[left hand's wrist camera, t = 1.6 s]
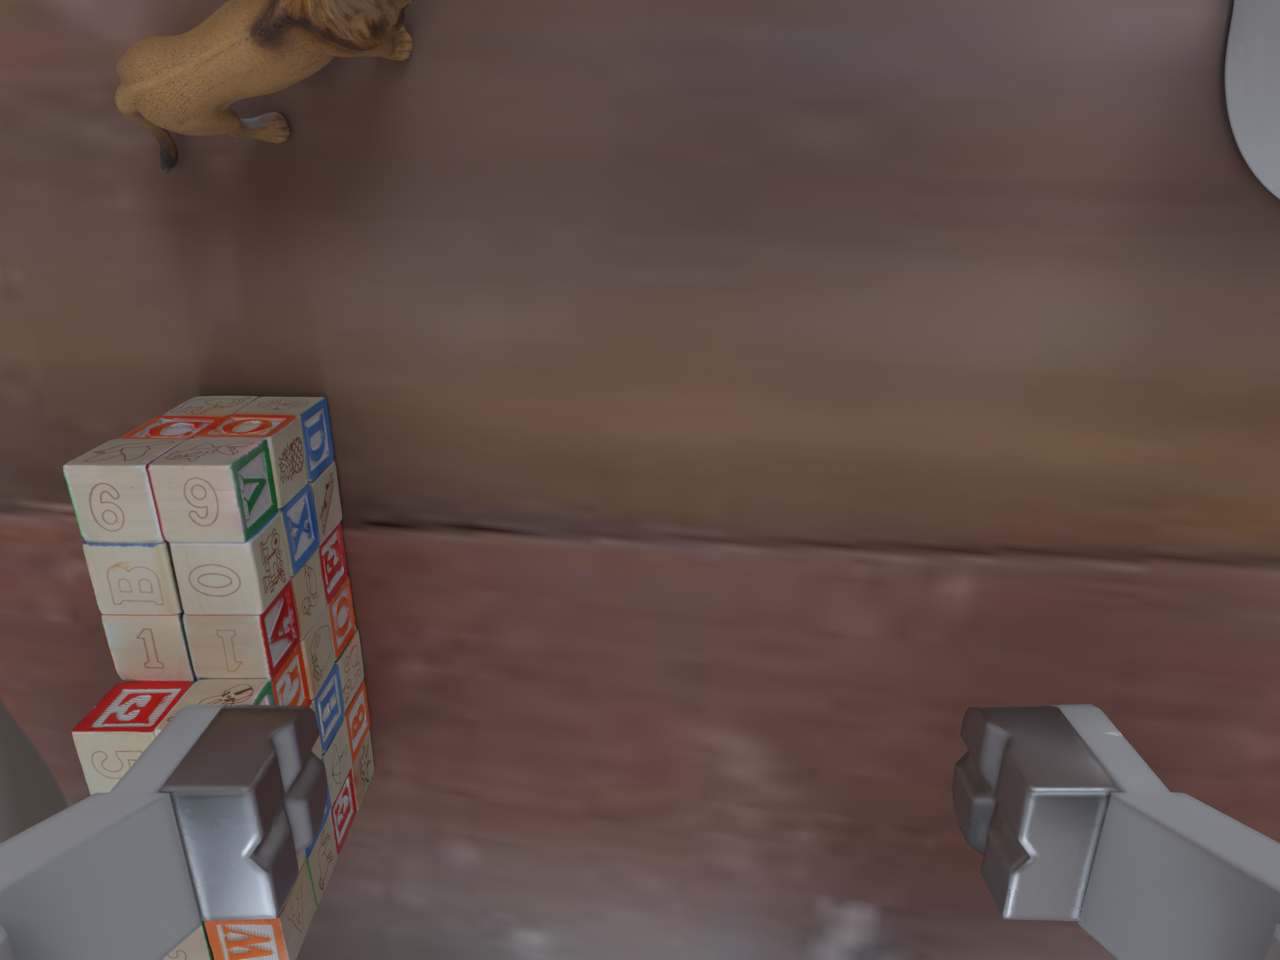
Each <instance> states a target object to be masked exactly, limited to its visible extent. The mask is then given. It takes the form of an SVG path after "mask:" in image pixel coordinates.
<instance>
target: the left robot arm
mask: <svg viewBox="0 0 1280 960" xmlns="http://www.w3.org/2000/svg"><path fill="white" fill-rule="evenodd" d="M1225 96H1226V106H1227V111H1228V116H1229V121H1230V125H1231V128H1232V132H1233V135H1234V138H1235V140H1236V143H1237V145H1238V148H1239V150H1240V152H1241V154H1242V156H1243V158H1244V159H1245V161H1246V163H1247V165H1248V166H1249V168H1250V169H1251V170H1252V172H1253V173H1254V175H1255V176H1256V177H1257V178H1258V180H1259V181H1260V182H1261V183H1262V184H1263V185H1264V186H1265V187H1266V188H1267V189H1268V190H1269V191H1270V192H1271V193H1272V194H1274V195H1275V196H1276V197H1277V198H1279V199H1280V0H1234V5H1233V13H1232V18H1231V24H1230V30H1229V36H1228V42H1227V48H1226V58H1225ZM319 735H320V733H319V728H318V723H317V718H316V713H315V712H314V711H313V710H312V709H311V708H310V707H309V706H276V705H225V704H191V705H188V706H186V707H183V708H180V709H179V711H178V712H177V713H176V714H175V715H174V716H173V718H172V719H171V720H170V721H169V722H168V723H167V725H166V726H165V727H164V728H163V729H162V731H161V732H160V733H159V734H158V735H157V737H156V738H155V739H154V740H153V741H152V742H151V744H150V745H149V746H148V747H147V748H146V750H145V751H144V752H143V753H142V754H141V755H140V757H139V758H138V759H137V760H136V761H135V763H134V764H133V765H132V766H131V767H130V769H129V770H128V771H127V772H126V773H125V774H124V776H123V777H122V778H121V779H120V780H119V782H118V783H117V784H116V785H115V786H114V788H113V789H112V790H111V791H110V792H109V793H95V794H93V795H91V796H89V797H87V798H85V799H83V800H81V801H80V802H78V803H76V804H74V805H72V806H70V807H68V808H66V809H64V810H62V811H61V812H59V813H57V814H55V815H53V816H51V817H49V818H47V819H45V820H44V821H42V822H40V823H38V824H36V825H34V826H32V827H30V828H28V829H27V830H25V831H23V832H21V833H19V834H17V835H15V836H13V837H12V838H9V839H8V840H6V841H4V842H2V843H0V960H162V959H163V958H164V957H166V956H167V955H168V954H169V953H170V952H171V951H172V950H174V949H175V948H176V947H177V946H178V945H179V944H181V943H182V942H183V941H184V940H185V939H186V938H187V937H189V936H190V935H191V934H192V933H193V932H194V931H196V930H197V929H198V928H199V927H200V926H201V925H202V923H201V921H218V920H252V919H277V917H278V915H279V913H280V911H281V909H282V907H283V905H284V903H285V901H286V899H287V897H288V894H289V892H290V890H291V888H292V886H293V884H294V882H295V880H296V878H297V876H298V874H299V868H298V862H297V857H296V855H297V854H299V853H300V852H301V851H303V850H304V849H306V848H307V847H308V846H310V845H311V844H312V843H313V842H314V840H315V838H316V836H317V833H318V831H319V829H320V827H321V825H322V821H323V816H324V811H325V807H326V802H327V776H326V769H325V764H324V763H323V762H322V761H321V760H320V759H319V758H318V757H317V756H316V755H315V754H314V753H313V752H312V751H311V750H312V748H313V746H314V744H315V743H316V741H317V739H318V737H319ZM960 735H961V737H962V739H963V741H964V743H965V744H966V746H967V748H968V750H969V751H968V752H967V753H966V754H965V755H964V756H963V757H962V758H961V759H960V760H959V761H958V762H957V763H956V764H955V770H954V778H953V786H952V787H953V799H954V810H955V813H956V817H957V820H958V824H959V827H960V829H961V831H962V834H963V836H964V838H965V840H966V842H967V843H968V844H969V845H970V846H972V847H973V848H974V849H976V850H977V851H979V852H980V853H981V854H983V855H984V857H983V862H982V868H981V874H982V876H983V878H984V880H985V882H986V884H987V886H988V888H989V890H990V892H991V894H992V896H993V899H994V901H995V903H996V905H997V907H998V909H999V911H1000V913H1001V915H1002V917H1003V919H1026V920H1061V921H1079V923H1078V925H1079V926H1080V927H1081V928H1083V929H1084V930H1085V931H1086V932H1087V933H1088V934H1090V935H1091V936H1092V937H1093V938H1094V939H1095V940H1096V941H1098V942H1099V943H1100V944H1101V945H1102V946H1103V947H1104V948H1106V949H1107V950H1108V951H1109V952H1110V953H1111V954H1113V955H1114V956H1115V957H1116V958H1117V959H1118V960H1280V843H1278V842H1276V841H1274V840H1272V839H1270V838H1268V837H1267V836H1265V835H1263V834H1261V833H1259V832H1257V831H1255V830H1253V829H1251V828H1250V827H1248V826H1246V825H1244V824H1242V823H1240V822H1238V821H1236V820H1234V819H1233V818H1231V817H1229V816H1227V815H1225V814H1223V813H1221V812H1219V811H1217V810H1216V809H1214V808H1212V807H1210V806H1208V805H1206V804H1204V803H1202V802H1200V801H1199V800H1197V799H1195V798H1193V797H1191V796H1189V795H1187V794H1185V793H1171V792H1170V791H1169V790H1168V789H1167V788H1166V786H1165V785H1164V784H1163V783H1162V782H1161V780H1160V779H1159V778H1158V777H1157V776H1156V775H1155V773H1154V772H1153V771H1152V770H1151V769H1150V767H1149V766H1148V765H1147V764H1146V763H1145V762H1144V760H1143V759H1142V758H1141V757H1140V756H1139V754H1138V753H1137V752H1136V751H1135V750H1134V748H1133V747H1132V746H1131V745H1130V744H1129V743H1128V741H1127V740H1126V739H1125V738H1124V737H1123V735H1122V734H1121V733H1120V732H1119V731H1118V730H1117V728H1116V727H1115V726H1114V725H1113V724H1112V722H1111V721H1110V720H1109V719H1108V718H1107V717H1106V715H1105V714H1104V713H1103V712H1102V711H1101V709H1099V708H1097V707H1095V706H1093V705H1091V704H1070V705H1049V706H1031V707H968V709H967V711H966V713H965V715H964V717H963V721H962V727H961V733H960Z"/></svg>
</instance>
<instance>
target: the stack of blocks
mask: <svg viewBox="0 0 1280 960" xmlns="http://www.w3.org/2000/svg"><path fill="white" fill-rule="evenodd" d="M63 472H64V476H65V479H66V482H67V486H68V490H69V493H70V497H71V500H72V504H73V507H74V511H75V516H76V519H77V523H78V526H79V529H80V533H81V536H82V537H83V538H84V540H85V541H84V543H83V551H84V554H85V557H86V561H87V565H88V569H89V573H90V577H91V581H92V584H93V588H94V591H95V595H96V599H97V603H98V607H99V610H100V611H101V613H102V624H103V627H104V631H105V634H106V638H107V642H108V645H109V648H110V651H111V655H112V658H113V662H114V665H115V669H116V671H117V673H118V674H119V676H120V678H121V679H123V680H122V682H121V683H119V684H117V685H116V686H114V687H113V688H112V689H111V690H110V691H109V692H108V693H107V694H106V695H105V697H104V698H103V699H102V700H101V701H100V702H99V703H98V704H97V705H96V706H95V707H94V708H93V709H92V710H91V711H90V712H89V713H88V714H87V715H86V716H85V717H84V718H83V719H82V720H81V721H80V722H79V723H78V724H77V726H76V727H75V728H74V729H73V731H72V735H73V739H74V743H75V746H76V749H77V753H78V756H79V759H80V762H81V765H82V768H83V772H84V776H85V779H86V782H87V785H88V788H89V791H90V794H91V795H93V794H95V793H109V792H110V791H111V790H112V789H113V788H114V786H115V785H116V784H117V783H118V782H119V780H120V779H121V778H122V777H123V776H124V774H125V773H126V772H127V771H128V770H129V769H130V767H131V766H132V765H133V764H134V763H135V761H136V760H137V759H138V758H139V757H140V755H141V754H142V753H143V752H144V751H145V750H146V748H147V747H148V746H149V745H150V744H151V742H152V741H153V740H154V739H155V738H156V737H157V735H158V734H159V733H160V732H161V731H162V729H163V728H164V727H165V726H166V725H167V723H168V722H169V721H170V720H171V719H172V718H173V716H174V715H175V714H176V713H177V712H178V711H179V709H180V708H183V707H186V706H188V705H191V704H225V705H276V706H309V707H310V708H311V709H312V710H313V711H314V712H315V713H316V718H317V723H318V728H319V733H320V735H319V737H318V739H317V741H316V743H315V744H314V746H313V748H312V750H311V751H312V752H313V753H314V754H315V755H316V756H317V757H318V758H319V759H320V760H321V761H322V762H323V763H324V764H325V769H326V776H327V802H326V807H325V811H324V816H323V821H322V825H321V827H320V829H319V831H318V833H317V836H316V838H315V840H314V842H313V843H312V844H311V845H310V846H308V847H307V848H306V849H304V850H303V851H301V852H300V853H299V854H297V855H296V857H297V862H298V868H299V874H298V876H297V878H296V880H295V882H294V884H293V886H292V888H291V890H290V892H289V894H288V897H287V899H286V901H285V903H284V905H283V907H282V909H281V911H280V913H279V915H278V917H277V919H252V920H218V921H201V923H202V925H201V926H200V927H199V928H198V929H197V930H196V931H194V932H193V933H192V934H191V935H190V936H189V937H187V938H186V939H185V940H184V941H183V942H182V943H181V944H179V945H178V946H177V947H176V948H175V949H174V950H172V951H171V952H170V953H169V954H168V955H167V956H166V957H164V958H163V959H162V960H296V958H297V956H298V953H299V951H300V949H301V946H302V944H303V941H304V939H305V936H306V934H307V931H308V929H309V926H310V923H311V921H312V918H313V916H314V913H315V911H316V909H317V908H318V906H319V904H320V902H321V899H322V896H323V894H324V892H325V890H326V887H327V885H328V883H329V880H330V878H331V876H332V873H333V871H334V869H335V866H336V864H337V861H338V858H337V856H338V854H339V853H340V850H341V848H342V846H343V844H344V841H345V839H346V836H347V834H348V831H349V829H350V826H351V824H352V821H353V819H354V816H355V814H356V811H357V810H358V809H359V808H360V807H361V804H362V801H363V799H364V796H365V794H366V792H367V789H368V786H369V784H370V781H371V779H372V776H373V773H374V761H373V753H372V745H371V737H370V730H369V728H370V717H369V709H368V701H367V694H366V686H365V680H364V670H363V660H362V653H361V645H360V637H359V632H358V629H357V628H356V626H355V616H354V610H353V602H352V595H351V587H350V579H349V577H348V575H347V566H346V556H345V549H344V543H343V534H342V526H341V523H340V521H341V520H342V510H341V503H340V495H339V487H338V479H337V471H336V465H335V461H334V453H333V444H332V436H331V430H330V423H329V415H328V408H327V402H326V398H325V397H258V396H199V397H194V398H191V399H189V400H187V401H185V402H183V403H181V404H180V405H178V406H176V407H175V408H173V409H172V410H170V411H168V412H166V413H165V414H163V415H159V416H156V417H154V418H153V419H151V420H149V421H147V422H146V423H144V424H142V425H140V426H138V427H136V428H135V429H133V430H131V431H129V432H128V433H126V434H125V435H123V436H122V437H120V438H119V439H113V440H109V441H107V442H105V443H104V444H102V445H100V446H98V447H96V448H94V449H92V450H91V451H89V452H87V453H85V454H83V455H81V456H79V457H77V458H75V459H74V460H72V461H70V462H68V463H67V464H65V465H64V466H63Z"/></svg>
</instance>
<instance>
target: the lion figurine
mask: <svg viewBox="0 0 1280 960" xmlns="http://www.w3.org/2000/svg"><path fill="white" fill-rule="evenodd" d="M412 2H413V0H229V1H227V2H226V3H225V4H223V5H222V6H221V7H220V8H218V9H217V10H216V11H215V12H214V13H213V14H212V15H211V16H210V17H208V18H207V19H206V20H205V21H203V22H202V23H201V24H200V25H198V26H197V27H195V28H193V29H192V30H190V31H188V32H185V33H183V34H179V35H175V36H149V37H145V38H142V39H140V40H138V41H137V42H135V43H134V44H133V45H132V46H131V47H130V48H129V49H128V50H127V51H126V52H125V53H124V54H123V55H122V56H121V57H120V59H119V60H118V62H117V66H116V69H117V73H118V75H119V77H120V79H121V82H120V85H119V87H118V89H117V91H116V94H115V102H116V105H117V108H118V109H119V111H120V112H121V113H122V114H123V115H124V116H126V117H128V118H130V119H131V120H133V121H135V122H137V123H139V124H140V125H142V126H143V127H145V128H146V129H148V130H149V131H151V132H152V133H153V134H154V135H155V136H156V138H157V140H158V142H159V144H160V148H161V151H160V156H161V168H162V169H163V170H164V171H165V172H167V173H168V172H169V170H170V169H171V168H172V167H173V166H175V165H176V164H177V162H178V151H177V148H176V144H175V141H174V139H173V138H172V137H171V135H170V134H169V133H168V131H167V130H170V131H173V132H176V133H179V134H183V135H188V136H215V135H226V136H229V137H232V138H251V139H257V140H261V141H264V142H269V143H282V142H285V141H287V140H288V138H289V135H290V132H291V131H290V127H289V125H288V123H287V121H286V119H285V118H284V117H283V116H282V115H281V114H279V113H276V112H270V113H266V114H263V115H261V116H258V117H255V118H251V119H240V117H239V116H238V115H237V114H236V112H235V111H234V110H233V109H231V108H230V106H231V104H232V103H234V102H236V101H239V100H242V99H245V98H251V97H257V96H263V95H267V94H272V93H275V92H279V91H281V90H284V89H286V88H288V87H290V86H292V85H294V84H296V83H298V82H300V81H301V80H303V79H305V78H307V77H309V76H311V75H313V74H315V73H316V72H318V71H319V70H320V69H322V68H323V67H324V66H326V65H327V64H328V63H329V62H330V61H331V60H332V59H333V58H334V57H335V56H337V57H344V58H351V57H381V58H386V59H390V60H395V61H404V60H406V59H408V58H409V57H410V55H411V52H412V48H413V43H412V37H411V36H410V35H409V33H408V32H407V31H406V30H405V28H404V27H403V22H404V9H405V8H406V7H408V6H411V4H412ZM166 129H167V130H166Z"/></svg>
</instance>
